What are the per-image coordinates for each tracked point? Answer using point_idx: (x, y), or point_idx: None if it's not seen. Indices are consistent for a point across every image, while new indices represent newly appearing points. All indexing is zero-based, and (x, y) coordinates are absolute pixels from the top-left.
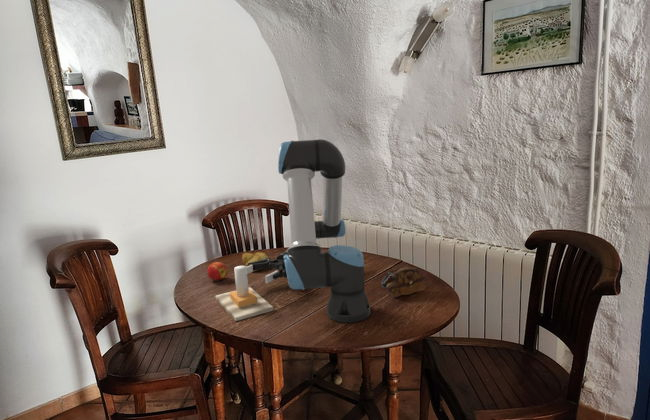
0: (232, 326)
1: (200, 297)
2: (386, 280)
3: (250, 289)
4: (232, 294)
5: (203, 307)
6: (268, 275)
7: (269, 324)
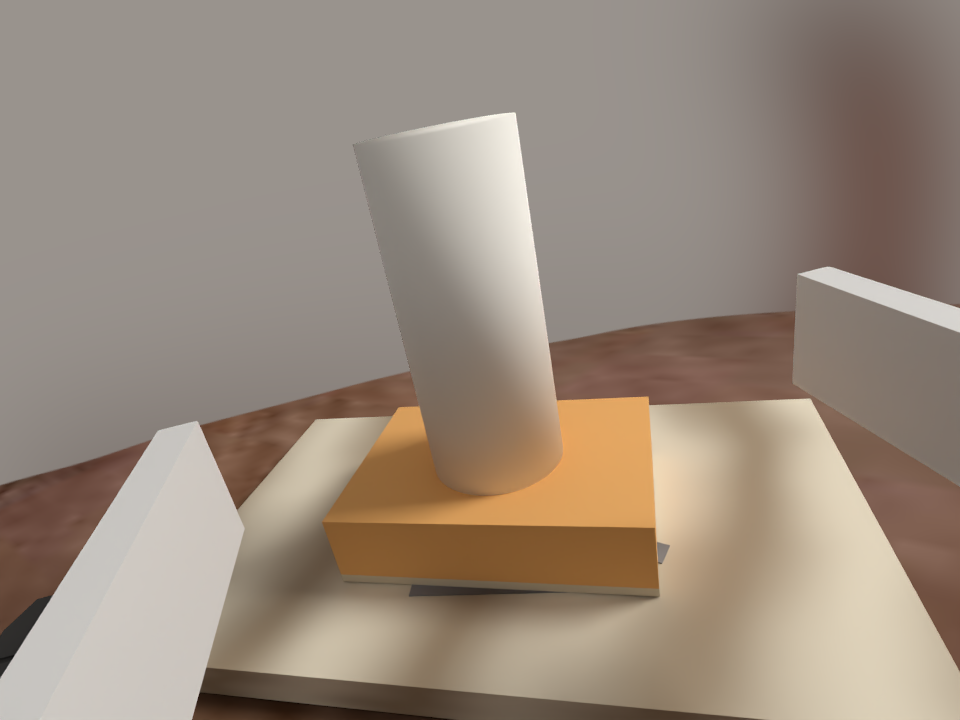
0: (295, 419)
1: None
2: None
3: (836, 694)
4: (579, 404)
5: (671, 365)
6: (142, 462)
7: (55, 553)
